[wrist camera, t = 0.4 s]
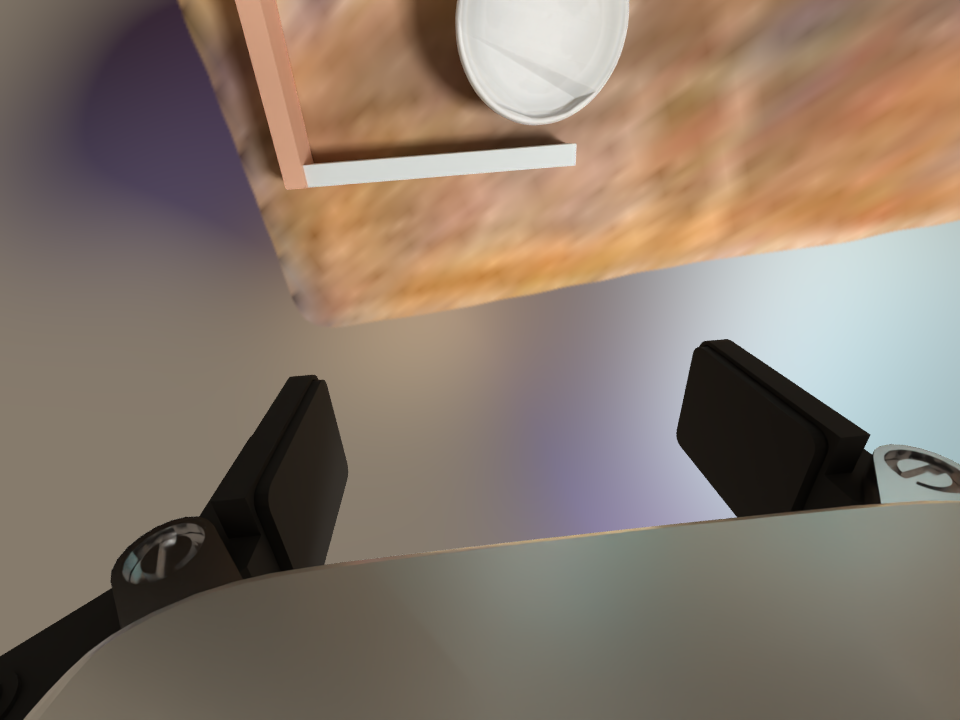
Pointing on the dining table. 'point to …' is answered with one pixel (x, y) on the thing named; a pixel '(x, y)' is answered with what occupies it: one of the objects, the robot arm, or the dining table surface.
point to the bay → (302, 173)
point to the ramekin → (539, 53)
